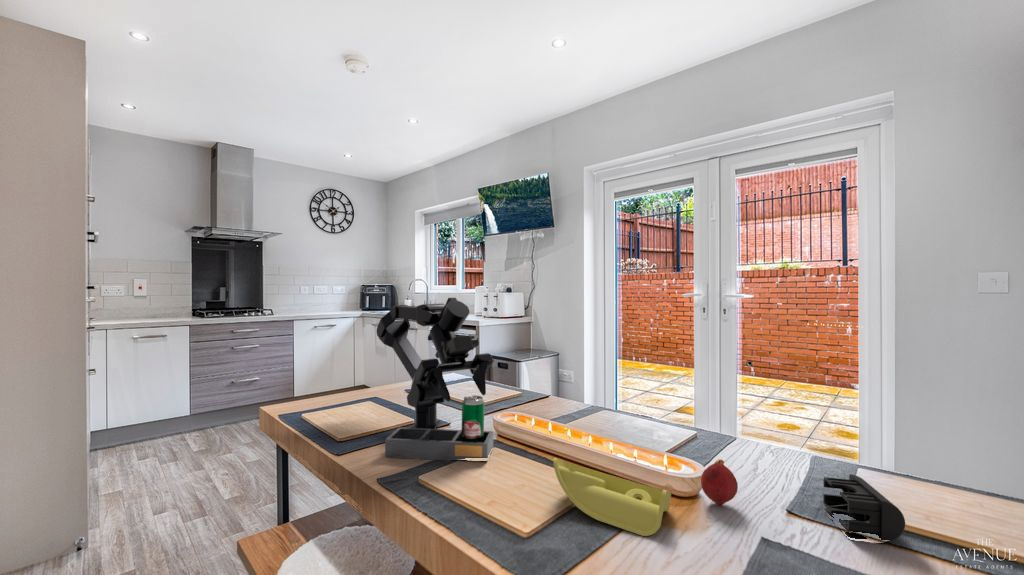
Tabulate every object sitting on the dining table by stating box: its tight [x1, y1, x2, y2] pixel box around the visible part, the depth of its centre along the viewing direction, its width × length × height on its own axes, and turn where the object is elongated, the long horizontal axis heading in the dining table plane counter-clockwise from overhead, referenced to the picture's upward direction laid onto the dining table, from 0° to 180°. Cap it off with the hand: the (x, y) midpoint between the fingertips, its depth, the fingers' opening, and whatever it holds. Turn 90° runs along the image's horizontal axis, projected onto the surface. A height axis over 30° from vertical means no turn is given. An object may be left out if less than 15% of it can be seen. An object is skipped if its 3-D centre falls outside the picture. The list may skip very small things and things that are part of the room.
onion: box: [700, 458, 739, 506], centre depth 79 cm, size 6×6×8 cm
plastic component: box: [552, 457, 672, 537], centre depth 78 cm, size 20×7×10 cm
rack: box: [384, 427, 494, 461], centre depth 102 cm, size 8×23×4 cm, turn 83°
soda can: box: [461, 394, 485, 442], centre depth 101 cm, size 5×5×12 cm
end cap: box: [822, 473, 906, 541], centre depth 71 cm, size 10×7×7 cm
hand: (467, 397), depth 103 cm, fingers open, 9 cm apart
